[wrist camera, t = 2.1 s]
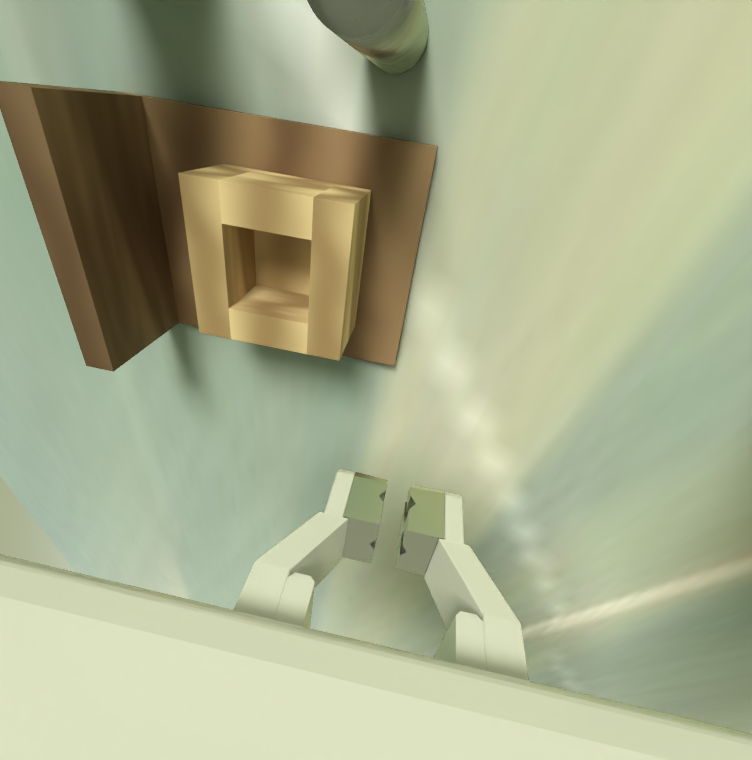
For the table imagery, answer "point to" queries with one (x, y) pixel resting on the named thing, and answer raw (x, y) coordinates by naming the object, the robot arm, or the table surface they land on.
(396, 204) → the jig
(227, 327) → the tan square frame
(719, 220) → the table surface
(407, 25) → the dowel
